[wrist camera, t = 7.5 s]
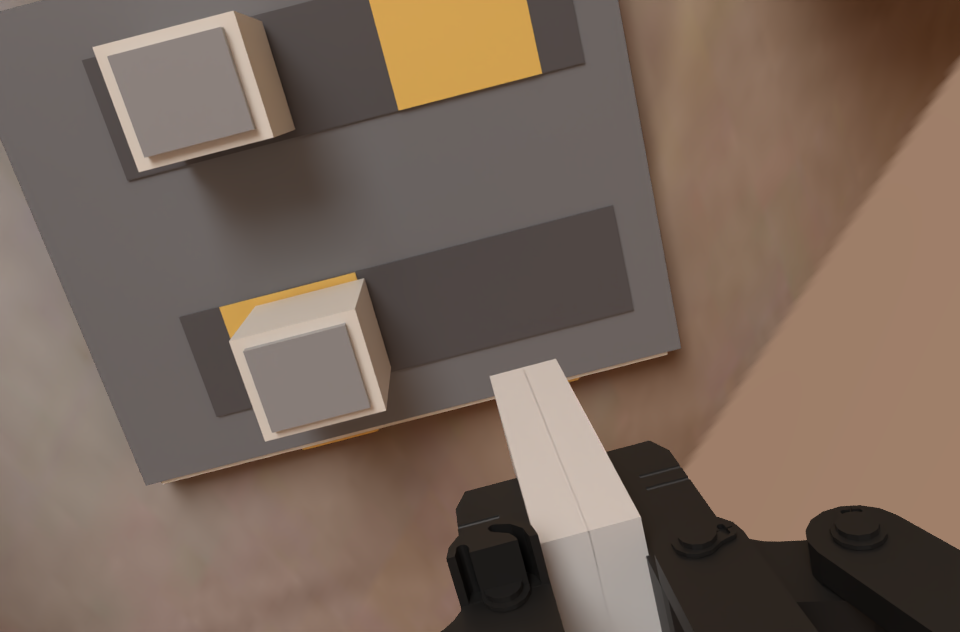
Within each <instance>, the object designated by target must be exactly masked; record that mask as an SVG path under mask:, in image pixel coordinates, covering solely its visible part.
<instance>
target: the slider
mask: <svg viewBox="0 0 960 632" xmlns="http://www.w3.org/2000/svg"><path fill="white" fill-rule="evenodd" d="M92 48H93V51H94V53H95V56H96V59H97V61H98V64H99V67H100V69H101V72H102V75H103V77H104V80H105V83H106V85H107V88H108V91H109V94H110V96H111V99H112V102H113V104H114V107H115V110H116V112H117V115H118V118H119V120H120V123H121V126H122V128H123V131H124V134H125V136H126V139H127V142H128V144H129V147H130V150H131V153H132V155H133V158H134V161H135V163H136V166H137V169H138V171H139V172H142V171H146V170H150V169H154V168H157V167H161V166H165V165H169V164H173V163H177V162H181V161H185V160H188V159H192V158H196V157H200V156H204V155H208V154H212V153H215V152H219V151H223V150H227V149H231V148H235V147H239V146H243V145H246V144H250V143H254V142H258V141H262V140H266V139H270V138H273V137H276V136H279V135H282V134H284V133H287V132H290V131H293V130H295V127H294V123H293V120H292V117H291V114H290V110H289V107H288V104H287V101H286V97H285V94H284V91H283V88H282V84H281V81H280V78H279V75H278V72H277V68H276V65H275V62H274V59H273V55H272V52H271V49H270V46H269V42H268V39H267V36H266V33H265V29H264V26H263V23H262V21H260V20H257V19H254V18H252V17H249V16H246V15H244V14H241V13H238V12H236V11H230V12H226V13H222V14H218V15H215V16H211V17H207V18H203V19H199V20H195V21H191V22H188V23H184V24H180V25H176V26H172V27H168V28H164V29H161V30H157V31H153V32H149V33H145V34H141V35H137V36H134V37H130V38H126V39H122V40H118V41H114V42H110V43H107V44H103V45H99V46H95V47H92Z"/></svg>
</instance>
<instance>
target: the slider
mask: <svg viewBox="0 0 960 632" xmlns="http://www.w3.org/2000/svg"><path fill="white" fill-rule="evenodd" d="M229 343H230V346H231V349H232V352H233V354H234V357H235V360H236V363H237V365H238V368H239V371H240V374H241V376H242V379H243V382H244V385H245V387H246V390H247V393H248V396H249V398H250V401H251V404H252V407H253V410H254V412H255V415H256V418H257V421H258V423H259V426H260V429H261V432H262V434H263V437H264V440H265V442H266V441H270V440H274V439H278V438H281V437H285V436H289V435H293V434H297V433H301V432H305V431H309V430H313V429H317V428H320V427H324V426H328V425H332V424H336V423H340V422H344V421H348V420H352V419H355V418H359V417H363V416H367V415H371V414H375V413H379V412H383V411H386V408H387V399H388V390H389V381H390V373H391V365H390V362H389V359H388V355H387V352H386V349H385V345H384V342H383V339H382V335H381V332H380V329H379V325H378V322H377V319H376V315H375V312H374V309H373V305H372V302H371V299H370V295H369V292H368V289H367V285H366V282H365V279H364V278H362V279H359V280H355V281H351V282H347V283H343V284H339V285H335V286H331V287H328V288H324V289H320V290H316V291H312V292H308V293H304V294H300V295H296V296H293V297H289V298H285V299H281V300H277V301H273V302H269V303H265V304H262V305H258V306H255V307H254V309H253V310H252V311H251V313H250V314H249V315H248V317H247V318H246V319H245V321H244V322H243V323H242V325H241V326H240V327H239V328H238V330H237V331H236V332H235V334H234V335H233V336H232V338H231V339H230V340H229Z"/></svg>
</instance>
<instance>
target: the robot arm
mask: <svg viewBox="0 0 960 632" xmlns="http://www.w3.org/2000/svg"><path fill="white" fill-rule="evenodd" d="M490 380H491V384H492V388H493V392H494V395H495V399H496V403H497V407H498V411H499V415H500V418H501V422H502V426H503V430H504V434H505V437H506V441H507V445H508V449H509V453H510V457H511V460H512V464H513V468H514V472H515V476H516V478H515V479H511V480H507V481H504V482H500V483H496V484H492V485H489V486H485V487H481V488H477V489H474V490H470V491H466V492H465V493H464V495H463V497H462V499H461V500H460V502H459V504H458V506H457V508H456V515H457V524H458V532H459V536H458V537H457V538H456V539H455V541H454V542H453V543H452V544H451V546H450V547H449V549H448V554H447V558H446V559H447V562H448V566H449V569H450V572H451V576H452V579H453V582H454V586H455V589H456V592H457V596H458V599H459V602H460V606H461V612H460V613H459V614H458V616H457V617H456V618H455V620H454V621H453V622H452V623H451V624H450V625H449V626H447V627H446V628H445V629H444V630H443V631H441V632H960V550H959V549H957V548H955V547H953V546H951V545H949V544H948V543H946V542H944V541H943V540H941V539H939V538H937V537H935V536H933V535H932V534H930V533H928V532H926V531H925V530H923V529H921V528H919V527H917V526H915V525H914V524H912V523H910V522H909V521H907V520H905V519H903V518H901V517H899V516H898V515H896V514H893V513H891V512H888V511H885V510H883V509H880V508H874V507H867V506H861V505H858V506H841V507H837V508H834V509H830V510H827V511H824V512H822V513H821V514H819V515H818V516H816V517H815V518H813V519H812V520H811V521H810V523H809V525H808V527H807V529H806V537H807V540H804V541H784V542H766V541H765V542H764V541H758V540H752V539H749V538H748V537H747V535H746V534H745V533H744V531H743V530H742V529H740V528H739V527H738V526H737V525H735V524H734V523H733V522H731V521H728V520H725V519H722V518H719V517H716V516H715V514H714V513H713V511H712V510H711V509H710V507H709V506H708V504H707V503H706V501H705V500H704V499H703V497H702V496H701V495H700V493H699V492H698V490H697V489H696V488H695V486H694V485H693V483H692V482H691V480H689V479H688V476H687V475H686V473H685V472H684V471H683V469H682V468H680V465H679V463H678V462H677V461H676V459H675V458H674V456H673V455H672V454H671V452H670V451H669V450H668V449H665V448H663V447H661V446H659V445H657V444H655V443H653V442H651V441H646V442H642V443H639V444H635V445H631V446H627V447H624V448H620V449H616V450H612V451H609V452H606V451H605V449H604V447H603V446H602V444H601V442H600V440H599V438H598V436H597V434H596V433H595V431H594V429H593V427H592V425H591V423H590V421H589V420H588V418H587V416H586V414H585V412H584V410H583V408H582V406H581V405H580V403H579V401H578V399H577V397H576V395H575V393H574V392H573V390H572V388H571V386H570V384H569V382H568V380H567V379H566V377H565V375H564V373H563V371H562V369H561V367H560V365H559V364H558V362H557V360H556V359H553V360H549V361H545V362H541V363H538V364H534V365H530V366H526V367H522V368H519V369H515V370H511V371H507V372H504V373H500V374H496V375H492V376H490Z"/></svg>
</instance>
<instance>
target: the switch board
mask: <svg viewBox="0 0 960 632" xmlns="http://www.w3.org/2000/svg"><path fill="white" fill-rule="evenodd" d="M230 11H236V12H238V13H241V14H244V15H246V16H249V17H252V18H254V19H257V20H260V21H262V23H263V26H264V29H265V33H266V36H267V39H268V42H269V46H270V49H271V52H272V55H273V59H274V62H275V65H276V68H277V72H278V75H279V78H280V81H281V84H282V88H283V91H284V94H285V97H286V101H287V104H288V107H289V110H290V114H291V117H292V120H293V123H294V127H295V130H293V131H290V132H287V133H284V134H282V135H279V136H276V137H273V138H270V139H266V140H262V141H258V142H254V143H250V144H246V145H243V146H239V147H235V148H231V149H227V150H223V151H219V152H215V153H212V154H208V155H204V156H200V157H196V158H192V159H188V160H185V161H181V162H177V163H173V164H169V165H165V166H161V167H157V168H154V169H150V170H146V171H142V172H139V171H138V169H137V166H136V163H135V161H134V158H133V155H132V153H131V150H130V147H129V144H128V142H127V139H126V136H125V134H124V131H123V128H122V126H121V123H120V120H119V118H118V115H117V112H116V110H115V107H114V104H113V102H112V99H111V96H110V94H109V91H108V88H107V85H106V83H105V80H104V77H103V75H102V72H101V69H100V67H99V64H98V61H97V59H96V56H95V53H94V51H93V48H92V47H95V46H99V45H103V44H107V43H110V42H114V41H118V40H122V39H126V38H130V37H134V36H137V35H141V34H145V33H149V32H153V31H157V30H161V29H164V28H168V27H172V26H176V25H180V24H184V23H188V22H191V21H195V20H199V19H203V18H207V17H211V16H215V15H218V14H222V13H226V12H230ZM0 139H1V141H2V143H3V146H4V148H5V151H6V153H7V155H8V158H9V160H10V163H11V165H12V167H13V170H14V172H15V174H16V177H17V179H18V182H19V184H20V186H21V189H22V191H23V194H24V196H25V198H26V201H27V203H28V205H29V208H30V210H31V213H32V215H33V217H34V220H35V222H36V225H37V227H38V229H39V232H40V234H41V236H42V239H43V241H44V244H45V246H46V248H47V251H48V253H49V256H50V258H51V260H52V263H53V265H54V267H55V270H56V272H57V275H58V277H59V279H60V282H61V284H62V286H63V289H64V291H65V294H66V296H67V298H68V301H69V303H70V306H71V308H72V310H73V313H74V315H75V317H76V320H77V322H78V325H79V327H80V329H81V332H82V334H83V337H84V339H85V341H86V344H87V346H88V348H89V351H90V353H91V356H92V358H93V360H94V363H95V365H96V368H97V370H98V372H99V375H100V377H101V379H102V382H103V384H104V387H105V389H106V391H107V394H108V396H109V399H110V401H111V403H112V406H113V408H114V410H115V413H116V415H117V418H118V420H119V422H120V425H121V427H122V430H123V432H124V434H125V437H126V439H127V441H128V444H129V446H130V449H131V451H132V453H133V456H134V458H135V461H136V463H137V465H138V468H139V470H140V472H141V475H142V477H143V480H144V482H145V484H146V485H150V484H154V483H158V482H161V483H162V484H165V483H169V482H173V481H177V480H181V479H185V478H189V477H193V476H197V475H200V474H204V473H208V472H212V471H216V470H220V469H224V468H228V467H232V466H236V465H239V464H243V463H247V462H251V461H255V460H259V459H263V458H267V457H271V456H275V455H278V454H282V453H286V452H290V451H294V450H298V449H303V450H306V449H310V448H314V447H318V446H322V445H326V444H329V443H333V442H337V441H341V440H345V439H349V438H353V437H357V436H361V435H365V434H368V433H372V432H376V431H378V429H380V428H384V427H387V426H391V425H395V424H399V423H403V422H407V421H411V420H415V419H419V418H423V417H426V416H430V415H434V414H438V413H442V412H446V411H450V410H454V409H458V408H462V407H465V406H469V405H473V404H477V403H481V402H485V401H489V400H493V399H495V395H494V392H493V388H492V384H491V380H490V376H492V375H496V374H500V373H504V372H507V371H511V370H515V369H519V368H522V367H526V366H530V365H534V364H538V363H541V362H545V361H549V360H553V359H556V360H557V362H558V364H559V365H560V367H561V369H562V371H563V373H564V375H565V377H566V379H567V380H568V382H571V381H575V380H579V378H578V377H582V376H586V375H590V374H594V373H598V372H602V371H606V370H610V369H613V368H617V367H621V366H625V365H629V364H633V363H637V362H641V361H645V360H649V359H652V358H656V357H660V356H664V355H668V354H667V352H668V351H672V350H676V349H680V348H681V345H680V340H679V334H678V329H677V323H676V317H675V312H674V306H673V301H672V295H671V290H670V284H669V279H668V273H667V268H666V262H665V257H664V251H663V246H662V240H661V235H660V229H659V224H658V218H657V213H656V207H655V202H654V196H653V190H652V185H651V179H650V174H649V168H648V163H647V157H646V152H645V146H644V141H643V135H642V130H641V124H640V119H639V113H638V108H637V102H636V97H635V91H634V86H633V80H632V75H631V69H630V64H629V58H628V52H627V47H626V41H625V36H624V30H623V25H622V19H621V14H620V8H619V3H618V0H42V1H38V2H34V3H30V4H27V5H23V6H19V7H15V8H11V9H7V10H3V11H0ZM362 278H364V279H365V282H366V285H367V289H368V292H369V295H370V299H371V302H372V305H373V309H374V312H375V315H376V319H377V322H378V325H379V329H380V332H381V335H382V339H383V342H384V345H385V349H386V352H387V355H388V359H389V362H390V365H391V373H390V381H389V390H388V399H387V408H386V411H383V412H379V413H375V414H371V415H367V416H363V417H359V418H355V419H352V420H348V421H344V422H340V423H336V424H332V425H328V426H324V427H320V428H317V429H313V430H309V431H305V432H301V433H297V434H293V435H289V436H285V437H281V438H278V439H274V440H270V441H266V442H265V440H264V437H263V434H262V432H261V429H260V426H259V423H258V421H257V418H256V415H255V412H254V410H253V407H252V404H251V401H250V398H249V396H248V393H247V390H246V387H245V385H244V382H243V379H242V376H241V374H240V371H239V368H238V365H237V363H236V360H235V357H234V354H233V352H232V349H231V346H230V343H229V340H230V339H231V338H232V336H233V335H234V334H235V332H236V331H237V330H238V328H239V327H240V326H241V325H242V323H243V322H244V321H245V319H246V318H247V317H248V315H249V314H250V313H251V311H252V310H253V309H254V307H255V306H258V305H262V304H265V303H269V302H273V301H277V300H281V299H285V298H289V297H293V296H296V295H300V294H304V293H308V292H312V291H316V290H320V289H324V288H328V287H331V286H335V285H339V284H343V283H347V282H351V281H355V280H359V279H362Z"/></svg>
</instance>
